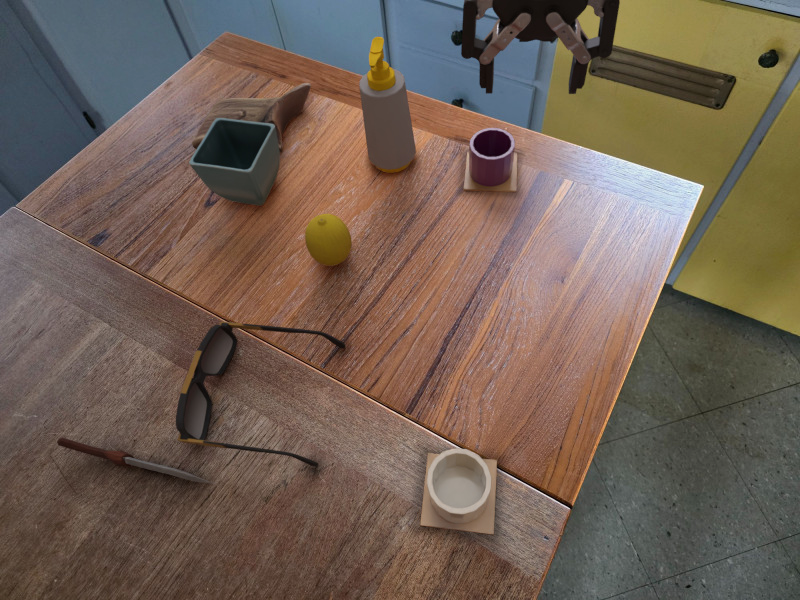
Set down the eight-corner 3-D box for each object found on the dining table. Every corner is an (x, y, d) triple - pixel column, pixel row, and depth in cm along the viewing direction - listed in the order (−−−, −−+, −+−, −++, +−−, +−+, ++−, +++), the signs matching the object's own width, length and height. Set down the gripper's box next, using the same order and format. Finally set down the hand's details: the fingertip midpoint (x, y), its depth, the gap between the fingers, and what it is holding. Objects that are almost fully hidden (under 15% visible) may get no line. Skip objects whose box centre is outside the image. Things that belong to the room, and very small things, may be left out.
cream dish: (490, 465, 55) (492, 451, 51) (487, 527, 52) (489, 517, 48) (432, 459, 56) (430, 445, 52) (426, 519, 53) (423, 509, 49)
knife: (222, 478, 57) (211, 471, 55) (216, 493, 57) (204, 487, 54) (73, 439, 61) (56, 431, 59) (66, 453, 60) (48, 445, 58)
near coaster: (496, 460, 56) (497, 460, 55) (493, 534, 52) (493, 534, 52) (427, 453, 57) (427, 452, 57) (420, 525, 53) (420, 525, 53)
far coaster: (517, 154, 77) (517, 153, 77) (516, 192, 74) (516, 190, 74) (467, 153, 78) (467, 151, 78) (463, 190, 75) (463, 188, 75)
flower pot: (293, 172, 80) (275, 123, 72) (271, 219, 75) (250, 172, 68) (238, 165, 81) (215, 116, 74) (213, 210, 77) (186, 163, 70)
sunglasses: (318, 467, 57) (307, 454, 53) (183, 448, 59) (162, 434, 55) (346, 347, 64) (338, 326, 60) (224, 334, 66) (208, 314, 62)
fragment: (228, 104, 91) (216, 76, 87) (319, 104, 88) (311, 75, 84) (197, 157, 84) (182, 130, 80) (295, 159, 80) (284, 131, 76)
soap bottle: (365, 176, 78) (342, 64, 63) (373, 141, 81) (352, 27, 66) (413, 177, 77) (402, 64, 62) (419, 142, 80) (409, 26, 65)
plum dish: (512, 156, 77) (515, 128, 73) (511, 187, 74) (514, 160, 70) (470, 155, 78) (471, 127, 73) (467, 185, 75) (468, 158, 70)
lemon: (305, 261, 71) (288, 221, 64) (336, 235, 73) (324, 194, 66) (333, 285, 69) (319, 246, 62) (365, 257, 70) (355, 217, 64)
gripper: (455, -52, 44) (459, 112, 58) (644, -61, 42) (602, 113, 55) (463, -98, 48) (466, 66, 62) (637, -108, 45) (599, 66, 59)
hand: (530, 88), depth 58 cm, fingers open, 8 cm apart
